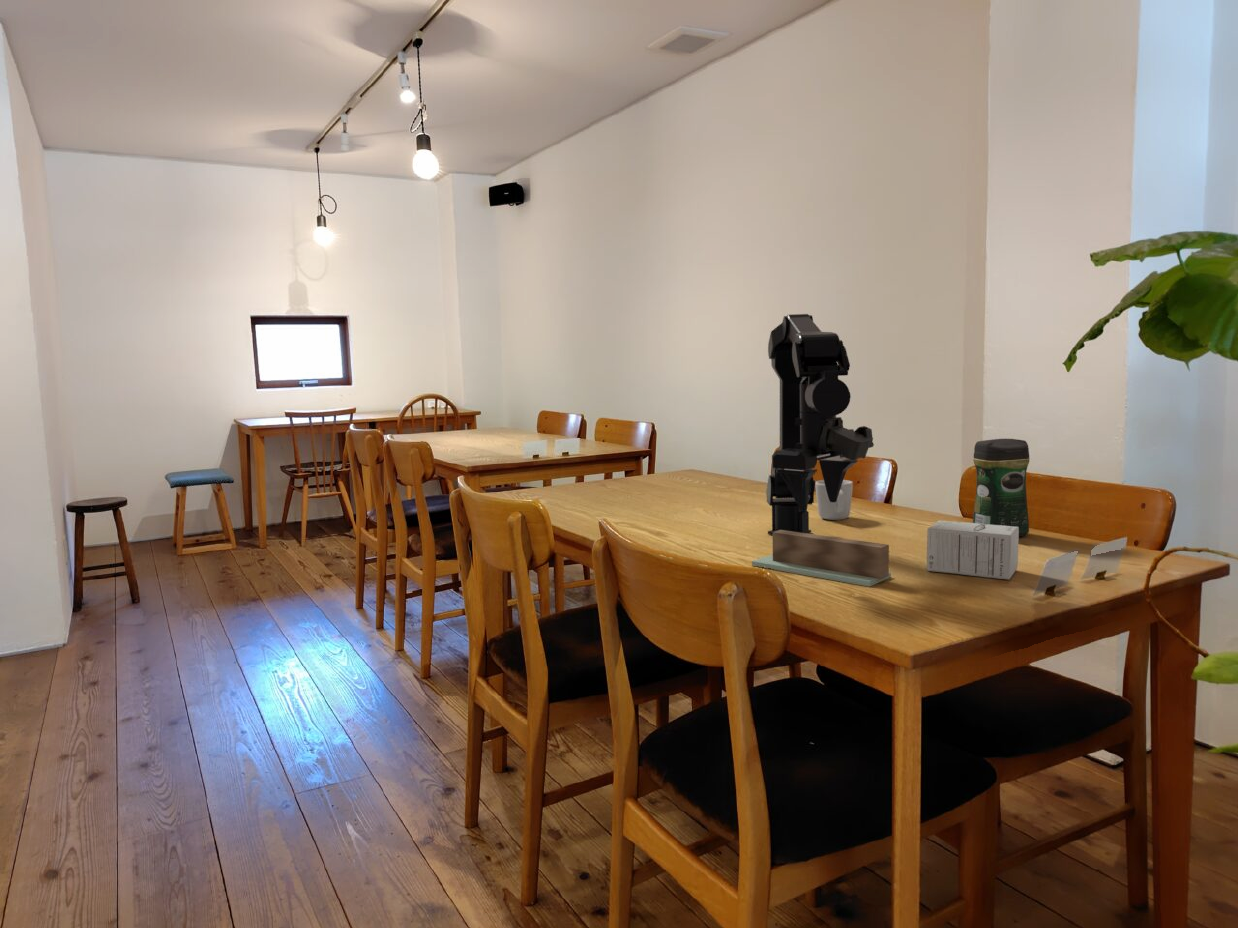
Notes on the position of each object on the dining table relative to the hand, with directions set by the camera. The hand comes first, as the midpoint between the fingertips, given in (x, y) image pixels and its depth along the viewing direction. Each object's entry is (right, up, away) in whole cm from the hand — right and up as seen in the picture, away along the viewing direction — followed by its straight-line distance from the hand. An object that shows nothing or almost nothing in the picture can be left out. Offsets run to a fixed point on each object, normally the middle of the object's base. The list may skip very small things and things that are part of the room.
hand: (818, 506), depth 138 cm
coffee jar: (+40, -7, +23) cm, 47 cm away
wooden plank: (+2, -10, 0) cm, 10 cm away
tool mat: (0, -11, +1) cm, 11 cm away
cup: (+14, -5, +43) cm, 46 cm away
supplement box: (+19, -6, +1) cm, 20 cm away
